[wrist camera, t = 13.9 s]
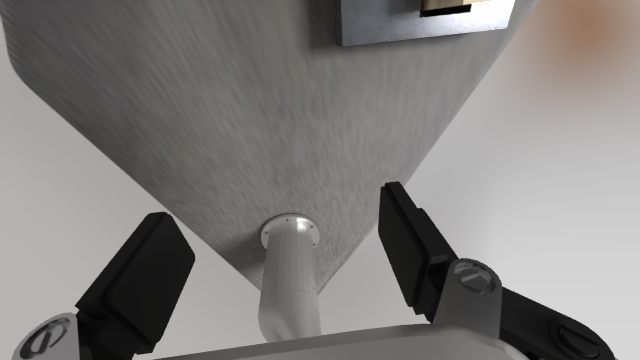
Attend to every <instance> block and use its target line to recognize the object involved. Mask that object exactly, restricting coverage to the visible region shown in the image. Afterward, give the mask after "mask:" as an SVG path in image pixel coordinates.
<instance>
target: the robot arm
mask: <svg viewBox="0 0 640 360" xmlns="http://www.w3.org/2000/svg"><path fill="white" fill-rule="evenodd" d="M378 233H379V237H380V239H381V242H382V244H383V247H384V249H385V252H386V254H387V257H388V259H389V262H390V264H391V266H392V269H393V271H394V274H395V276H396V278H397V281H398V284H399V286H400V289H401V291H402V293H403V296H404V299H405V301H406V303H407V305H408V306H409V307H413V309H414V312H415V314H416V315H419V314H424V315H425V317H426V319H427V321H429V322H430V324H414V325H400V326H391V327H384V328H374V329H366V330H358V331H350V332H343V333H336V334H328V335H321V328H320V318H319V307H318V295H317V283H316V271H315V259H314V248H315V247H316V246H317V244H318V243H319V239H320V233H319V229H318V226H317V225H316V224H315V222H313V221H312V220H311V219H309V218H308V217H305V216H302V215H298V214H284V215H279V216H277V217H274V218H272V219H271V220H269V221H268V222H267V223H266V224H265V225H264V227H263V229H262V232H261V242H262V245H263V246H264V248H265V249H266V250H267V251H266V258H265V266H264V274H263V281H262V289H261V297H260V305H259V313H258V320H259V326H260V329H261V332H262V334H263V336H264V337H265V339H266V340H267V342H268V343H264V344H257V345H250V346H243V347H236V348H229V349H222V350H216V351H209V352H202V353H195V354H188V355H181V356H175V357H168V358H161V359H155V360H618V359H616V358H615V357H614V355H613V352H612V351H611V350H610V348H609V347H608V345H607V344H606V343H605V342H604V341H603V340H602V339H601V338H600V337H599V336H598V335H597V334H596V333H595V332H593V331H592V330H591V329H590V328H588V327H587V326H585V325H583V324H582V323H580V322H578V321H576V320H574V319H572V318H570V317H568V316H566V315H563V314H561V313H559V312H557V311H554V310H552V309H550V308H548V307H546V306H544V305H541V304H539V303H537V302H535V301H533V300H531V299H528V298H526V297H524V296H522V295H520V294H518V293H516V292H513V291H511V290H509V289H506V288H505V287H502V283H501V281H500V279H499V277H498V275H497V274H496V273H495V272H494V271H493V270H492V269H491V268H489V267H488V266H487V265H485V264H483V263H481V262H479V261H477V260H473V259H468V258H461V259H459V258H458V257H457V255H456V254H455V253H454V251H453V250H452V248H451V247H450V245H449V244H448V243H447V241H446V240H445V238H444V237H443V236H442V234H441V233H440V232H439V230H438V229H437V227H436V226H435V224H434V223H433V222H432V220H431V219H430V217H429V216H428V215H427V213H426V212H425V211H424V210H423V209H422V208H417V207H416V205H415V204H414V202H413V201H412V200H411V198H410V197H409V195H408V194H407V192H406V191H405V189H404V188H403V186H402V185H401V183H400V182H398V181H397V182H389V183H385V186H383V187H381V193H380V208H379V224H378ZM194 262H195V254H194V252H193V251H192V249H191V247H190V246H189V244H188V242H187V241H186V239H185V237H184V236H183V234H182V232H181V231H180V229H179V227H178V226H177V224H176V223H175V221H174V219H173V217H172V216H171V215H170V214H167V213H166V212H156V213H150V214H148V215H147V216H146V217H145V218H144V220H143V221H142V222H141V223H140V225H139V226H138V227H137V228H136V230H135V231H134V232H133V234H132V235H131V236H130V237H129V238H128V240H127V241H126V242H125V243H124V245H123V246H122V247H121V248H120V250H119V251H118V252H117V253H116V255H115V256H114V257H113V258H112V260H111V261H110V262H109V264H108V265H107V266H106V267H105V268H104V270H103V271H102V272H101V273H100V275H99V276H98V277H97V278H96V280H95V281H94V282H93V283H92V285H91V286H90V287H89V288H88V290H87V291H86V292H85V293H84V295H83V296H82V297H81V299H80V300H79V301H78V302H77V303H76V305H75V307H77V308H78V309H79V311H78V313H77V314H76V315H75V314H73V313H63V314H59V315H56V316H54V317H52V318H50V319H48V320H46V321H45V322H43V323H42V324H40V325H39V326H37V327H36V328H35V329H34V330H33V331H31V332H30V333H29V334H28V335H27V336H26V337H25V338H24V339H23V340H22V341H21V342H20V344H19V345H18V347H17V348H16V349H15V351H14V354H13V356H12V360H132V358H133V356H134V354H135V353H136V354H137V355H140V354H147V353H152V352H153V350H154V347H155V345H156V343H157V342H159V341H160V339H161V338H162V336H163V334H164V331H165V329H166V327H167V324H168V322H169V319H170V317H171V315H172V313H173V310H174V308H175V306H176V304H177V301H178V299H179V296H180V294H181V292H182V290H183V287H184V285H185V283H186V280H187V278H188V276H189V274H190V271H191V269H192V266H193V264H194Z"/></svg>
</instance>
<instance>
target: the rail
mask: <svg viewBox="0 0 640 360" xmlns="http://www.w3.org/2000/svg"><path fill="white" fill-rule="evenodd" d="M421 1H422V0H334V3H335V25H336V45H339V46H342V47H345V46H354V45H363V44H371V43H380V42H389V41H398V40H406V39H415V38H424V37H433V36H441V35H450V34H459V33H468V32H477V31H485V30H494V29H503V28H507V24H508V21H509V18H510V14H511V11H512V8H513V4H514V1H515V0H493V1H486V2H479V3H473V4H466V5H459V6H452V7H448V10H447V15H439V16H430V17H421V18H420V9H421Z"/></svg>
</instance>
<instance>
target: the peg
mask: <svg viewBox="0 0 640 360" xmlns="http://www.w3.org/2000/svg"><path fill="white" fill-rule="evenodd" d="M486 1H493V0H422V1H421V9H420V11H424V10H431V9H438V8H445V7H452V6H459V5H466V4H473V3H479V2H486Z"/></svg>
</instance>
